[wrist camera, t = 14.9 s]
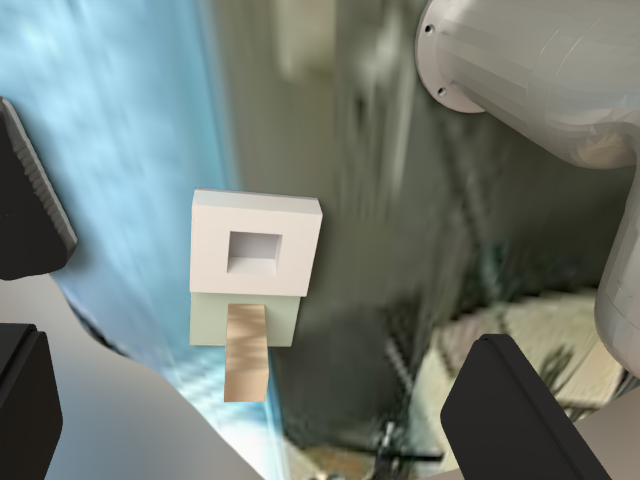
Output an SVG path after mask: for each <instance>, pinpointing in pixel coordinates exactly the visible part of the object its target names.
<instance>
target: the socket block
mask: <svg viewBox="0 0 640 480" xmlns="http://www.w3.org/2000/svg"><path fill="white" fill-rule="evenodd" d="M322 216H323V215H322V211H321V208H320V205H319V202H318V199H317V198H310V197H299V196H288V195H276V194H265V193H254V192H242V191H231V190H220V189H209V188H197V187H195V192H194V198H193V203H192V230H191V264H190V292H205V293H231V294H257V295H282V296H306V295H307V290H308V285H309V280H310V275H311V270H312V265H313V261H314V256H315V251H316V246H317V241H318V236H319V231H320V226H321V221H322Z"/></svg>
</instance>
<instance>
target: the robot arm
mask: <svg viewBox="0 0 640 480" xmlns="http://www.w3.org/2000/svg"><path fill="white" fill-rule="evenodd" d="M426 26H429V29H428V31H427V32H425V28H426ZM415 62H416V66H417V71H418V74H419V77H420V79H421V81H422V83H423V85H424V87H425V88H426V89H427V91H428V92H429V94H430V95H431V96H432V97H434V98H435V99H436V100H437V101H438V102H440V103H441V104H443V105H444V106H446V107H447V108H450V109H452V110H455V111H458V112H464V113H481V112H486V111H487V112H488V113H490V114H492V115H493V116H495V117H496V118H498V119H499V120H501V121H502V122H504V123H505V124H507V125H508V126H510V127H511V128H513V129H514V130H516V131H517V132H519V133H521V134H522V135H524V136H525V137H527V138H528V139H530V140H531V141H533V142H534V143H536V144H537V145H539V146H541V147H542V148H544V149H546V150H547V151H549V152H550V153H552V154H553V155H555V156H556V157H558V158H560V159H562V160H564V161H566V162H568V163H570V164H573V165H576V166H579V167H584V168H591V169H614V168H621V167H628V166H632V165H637V166H636V172H635V176H634V180H633V183H632V186H631V189H630V192H629V195H628V198H627V201H626V209H625V212H624V214H623V217H622V220H621V223H620V226H619V229H618V231H617V234H616V237H615V240H614V243H613V246H612V249H611V251H610V254H609V257H608V260H607V263H606V266H605V269H604V272H603V275H602V278H601V281H600V284H599V287H598V291H597V295H596V299H595V307H594V318H595V325H596V329H597V332H598V335H599V337H600V339H601V341H602V343H603V344H604V346H605V347H606V349H607V351H608V352H609V353H610V354H611V355H612V357H613V358H614V359H615V360H616V361H617V362H618V363H619V364H620V365H622V366H623V367H624V368H625V369H626V370H627V371H629V372H630V373H631V374H632V375H634V376H635V377H637V378H638V379H640V0H429V1H428V3H427V5H426V7H425V9H424V11H423V13H422V15H421V18H420V21H419V25H418V28H417V32H416V39H415ZM440 88H441V91H440V92H438V90H439V89H440ZM440 420H441V424H442V427H443V430H444V432H445V434H446V437H447V439H448V441H449V444H450V446H451V448H452V451H453V453H454V456H455V458H456V460H457V463H458V465H459V467H460V470H461V472H462V474H463V477H464V479H465V480H612V479H611V478H610V476H609V475H608V473H607V472H606V470H605V469H604V468H603V466H602V465H601V463H600V462H599V461H598V459H597V458H596V456H595V455H594V453H593V452H592V451H591V449H590V448H589V446H588V445H587V443H586V442H585V441H584V439H583V438H582V436H581V435H580V434H579V432H578V431H577V429H576V428H575V426H574V425H573V424H572V422H571V421H570V419H569V418H568V416H567V415H566V414H565V412H564V411H563V409H562V408H561V407H560V405H559V404H558V402H557V401H556V399H555V398H554V397H553V395H552V394H551V392H550V391H549V389H548V388H547V387H546V385H545V384H544V382H543V381H542V380H541V378H540V377H539V375H538V374H537V372H536V371H535V370H534V368H533V367H532V365H531V364H530V362H529V361H528V360H527V358H526V357H525V355H524V354H523V353H522V351H521V350H520V348H519V347H518V345H517V344H516V343H515V341H514V340H513V339H512V337H511V336H509V335H507V334H483V335H482V336H481V337H480V338H479V340H476V341H475V342H474V343H473V345H472V347H471V349H470V351H469V353H468V355H467V358H466V360H465V362H464V364H463V366H462V368H461V370H460V372H459V374H458V376H457V378H456V380H455V383H454V385H453V387H452V389H451V391H450V393H449V395H448V397H447V399H446V401H445V403H444V405H443V407H442V410H441V414H440ZM62 425H63V417H62V412H61V406H60V401H59V396H58V391H57V386H56V381H55V376H54V370H53V365H52V360H51V355H50V350H49V344H48V340H47V335H46V333H45V332H38V331H37V328H36V326H35V325H34V324H16V323H0V480H44V478H45V476H46V473H47V470H48V468H49V465H50V462H51V460H52V457H53V454H54V451H55V449H56V446H57V443H58V440H59V438H60V434H61V431H62Z"/></svg>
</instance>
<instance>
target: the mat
mask: <svg viewBox="0 0 640 480" xmlns="http://www.w3.org/2000/svg"><path fill="white" fill-rule="evenodd" d="M300 297H301V296H282V295H257V294H231V293H205V292H191V320H190V345H217V346H226V328H227V313H228V303H230V304H264V310H265V325H266V339H267V346H288V347H291V344H292V339H293V334H294V329H295V323H296V318H297V313H298V308H299V303H300Z"/></svg>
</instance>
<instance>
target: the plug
mask: <svg viewBox="0 0 640 480" xmlns="http://www.w3.org/2000/svg"><path fill="white" fill-rule="evenodd" d="M268 377H269V367H268V353H267V339H266V325H265V310H264V304H230V303H228V313H227V328H226V357H225V386H224V402H249V401H265V398H266V391H267V384H268Z"/></svg>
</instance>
